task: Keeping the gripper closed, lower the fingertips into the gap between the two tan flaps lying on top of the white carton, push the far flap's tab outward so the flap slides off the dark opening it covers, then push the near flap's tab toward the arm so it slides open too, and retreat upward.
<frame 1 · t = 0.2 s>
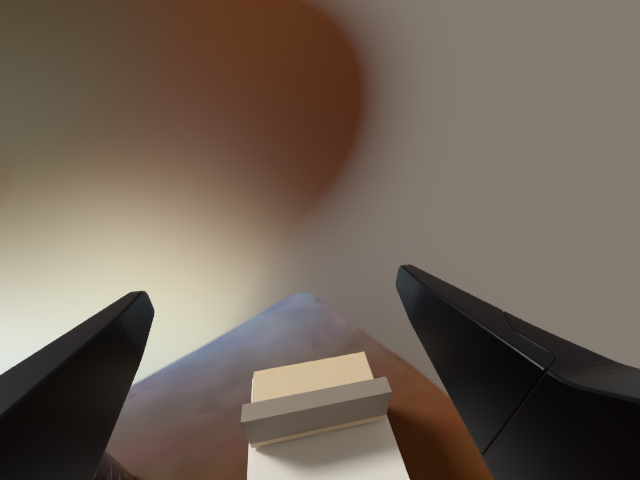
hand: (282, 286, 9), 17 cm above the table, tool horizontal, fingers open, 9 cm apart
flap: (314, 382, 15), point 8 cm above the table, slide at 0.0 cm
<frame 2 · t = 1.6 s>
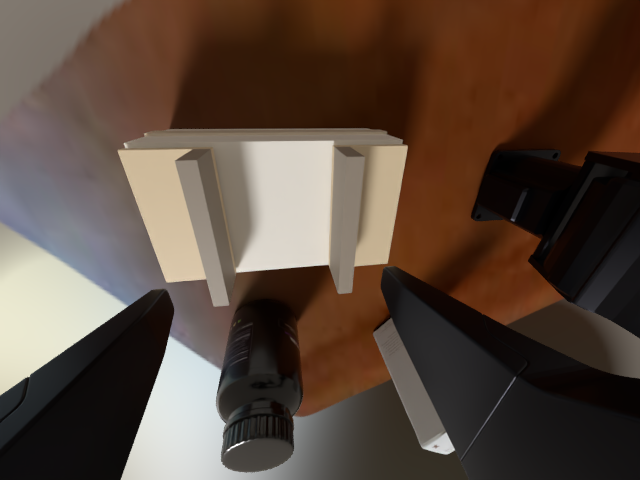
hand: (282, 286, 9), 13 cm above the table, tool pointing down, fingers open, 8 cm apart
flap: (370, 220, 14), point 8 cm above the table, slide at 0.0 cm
skincare box: (398, 321, 31), on the table
supplement bottle: (264, 319, 27), on the table
carton: (278, 183, 20), on the table
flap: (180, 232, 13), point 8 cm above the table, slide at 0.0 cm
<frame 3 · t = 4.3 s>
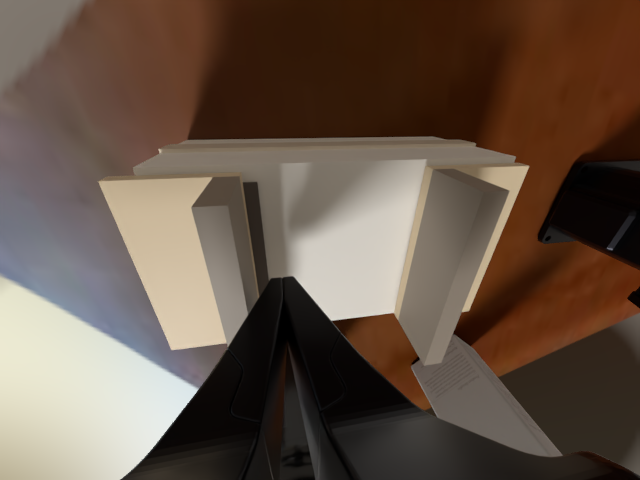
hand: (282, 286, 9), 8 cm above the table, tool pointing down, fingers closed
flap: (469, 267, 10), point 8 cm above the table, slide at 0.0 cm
skincare box: (439, 352, 27), on the table
supplement bottle: (290, 356, 23), on the table
carton: (318, 204, 16), on the table
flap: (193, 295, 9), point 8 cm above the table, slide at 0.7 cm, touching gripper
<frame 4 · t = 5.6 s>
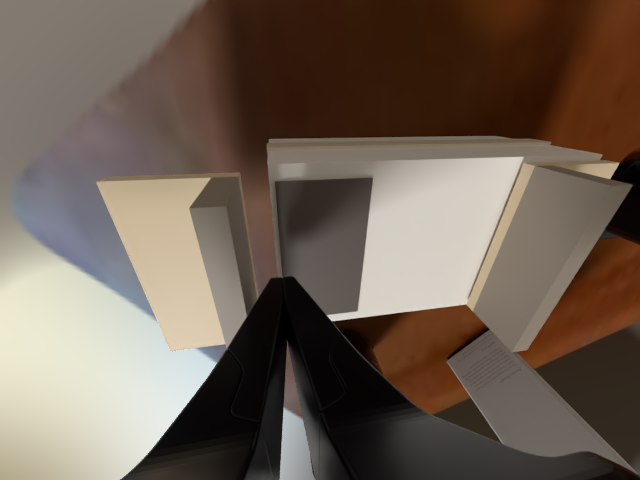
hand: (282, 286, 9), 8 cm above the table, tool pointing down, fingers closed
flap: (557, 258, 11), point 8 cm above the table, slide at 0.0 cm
skincare box: (474, 347, 28), on the table
supplement bottle: (334, 350, 24), on the table
carton: (380, 201, 17), on the table
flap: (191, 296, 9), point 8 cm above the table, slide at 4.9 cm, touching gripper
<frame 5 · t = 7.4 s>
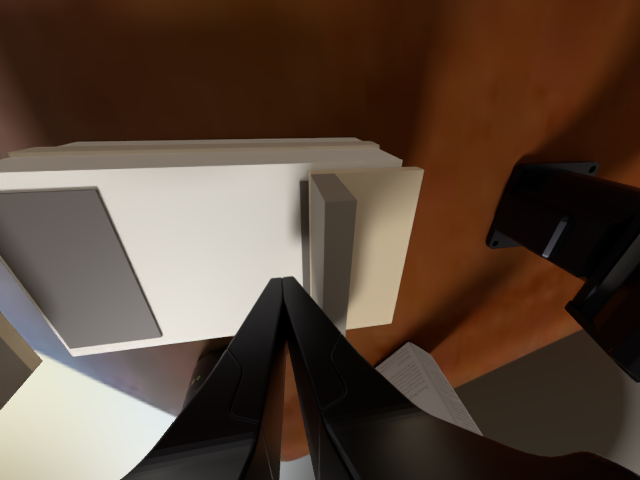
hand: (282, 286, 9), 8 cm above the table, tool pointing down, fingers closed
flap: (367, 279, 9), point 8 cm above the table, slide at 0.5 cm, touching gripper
skincare box: (397, 359, 26), on the table
supplement bottle: (235, 365, 22), on the table
carton: (238, 209, 15), on the table
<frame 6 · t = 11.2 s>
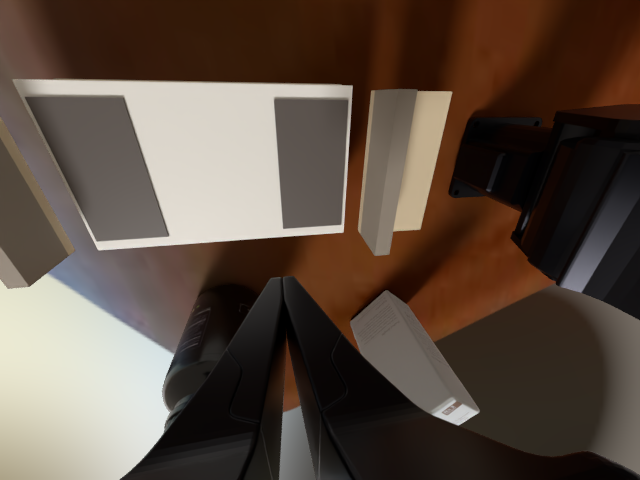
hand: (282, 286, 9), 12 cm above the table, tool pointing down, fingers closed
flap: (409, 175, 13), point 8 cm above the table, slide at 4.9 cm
skincare box: (377, 309, 29), on the table
supplement bottle: (230, 306, 25), on the table
carton: (231, 152, 18), on the table
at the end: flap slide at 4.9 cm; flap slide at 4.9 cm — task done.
